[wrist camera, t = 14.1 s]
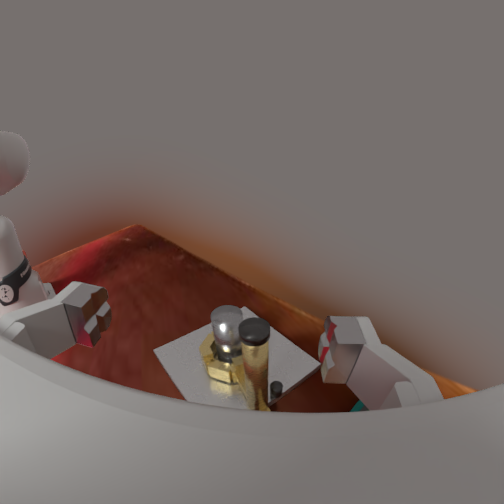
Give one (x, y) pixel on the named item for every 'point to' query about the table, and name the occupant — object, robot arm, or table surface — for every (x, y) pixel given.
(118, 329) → the table surface
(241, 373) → the brass metal fixture
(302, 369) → the spigot base
